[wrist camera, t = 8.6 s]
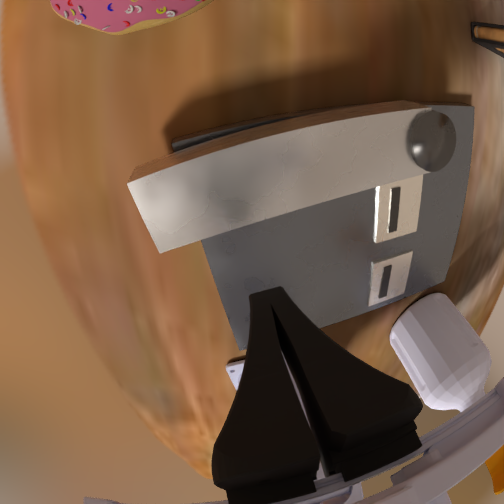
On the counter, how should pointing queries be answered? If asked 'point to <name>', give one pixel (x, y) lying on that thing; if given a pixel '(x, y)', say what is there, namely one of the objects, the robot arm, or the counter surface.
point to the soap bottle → (445, 361)
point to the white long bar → (287, 168)
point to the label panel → (344, 238)
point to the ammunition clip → (489, 36)
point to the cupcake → (124, 13)
